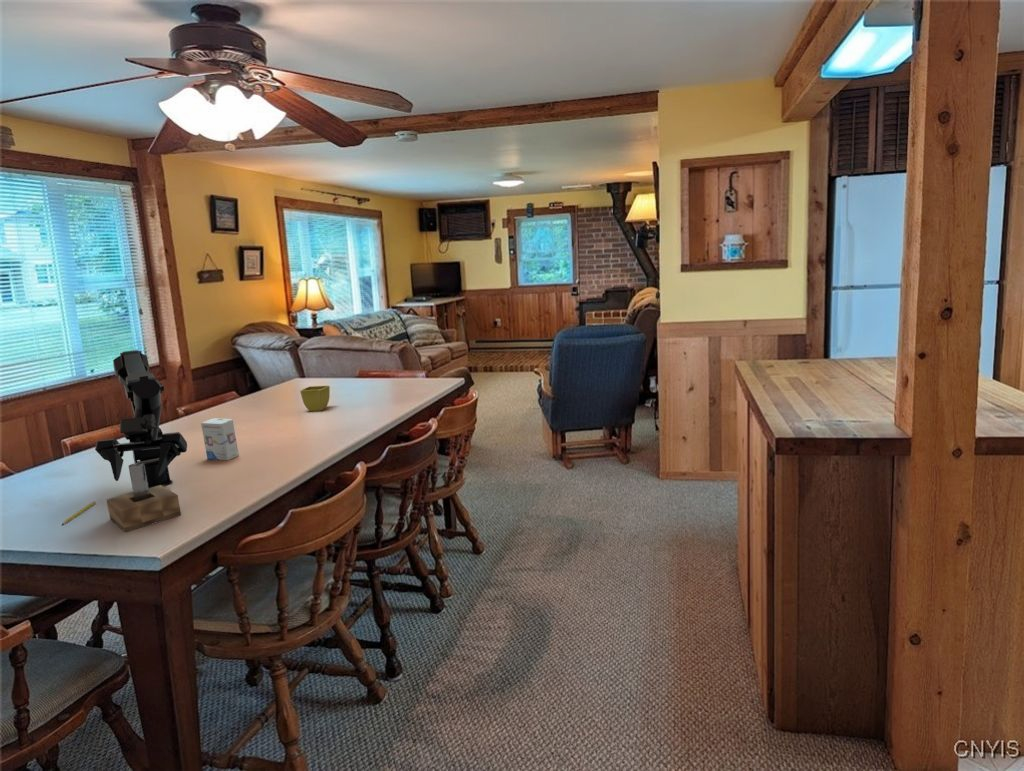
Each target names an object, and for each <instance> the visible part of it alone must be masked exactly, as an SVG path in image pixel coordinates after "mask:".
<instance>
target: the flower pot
mask: <svg viewBox="0 0 1024 771" xmlns="http://www.w3.org/2000/svg"><path fill="white" fill-rule="evenodd" d="M299 392H300V395H301V400H302V404H304V406H305V408H306V409H307V410H308V411H309V412H317V411H318V412H319V411H320V412H321V411H323V410H325V409H326V408H327V407H328V404H329V401H330V395H331V394H330V385H313V386H312V385H310V386H307V387H305V388H303V389H301V390H300V391H299Z"/></svg>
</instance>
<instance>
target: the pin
mask: <svg viewBox="0 0 1024 771" xmlns="http://www.w3.org/2000/svg"><path fill="white" fill-rule="evenodd" d="M128 469H129V476H130V482H131V487H132V493H133V494H134V499H135V502H138V501H141V500H145V499H148V498H150V494H149V488H148V483H147V477H146V471H145V465H144V463H134V462H133V463H131V464H129V465H128Z"/></svg>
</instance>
